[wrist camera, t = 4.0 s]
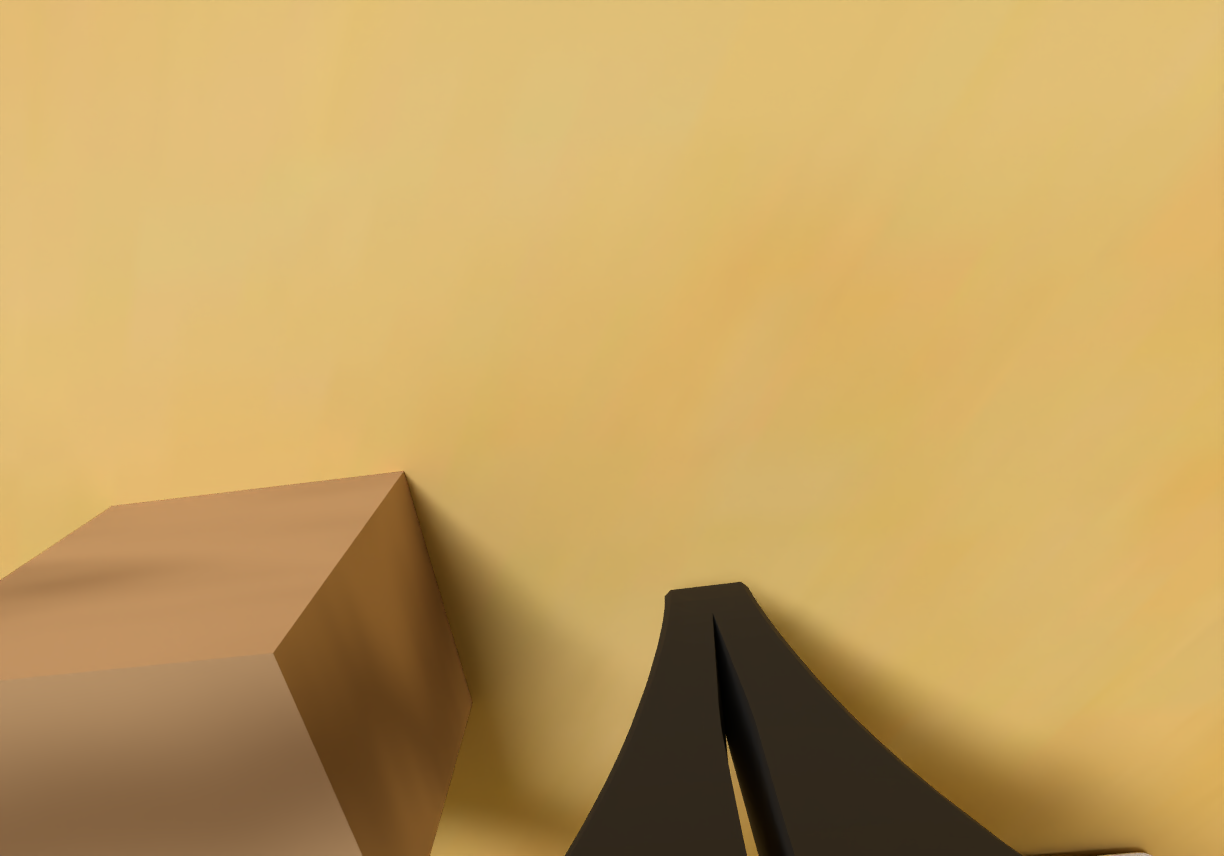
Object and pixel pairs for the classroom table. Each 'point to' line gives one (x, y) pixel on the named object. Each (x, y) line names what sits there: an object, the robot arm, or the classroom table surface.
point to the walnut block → (231, 680)
